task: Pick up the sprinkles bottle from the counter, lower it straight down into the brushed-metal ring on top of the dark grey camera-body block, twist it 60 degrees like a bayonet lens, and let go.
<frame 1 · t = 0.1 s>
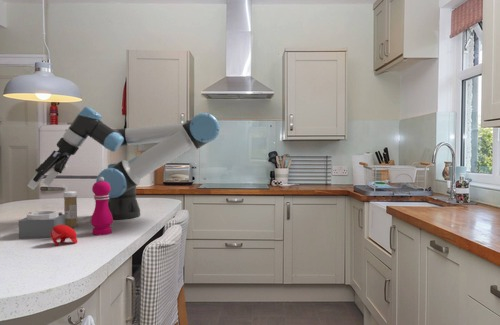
hand: (38, 186, 141), 15 cm above the kitchen island, tool tilted 35°, fingers open, 13 cm apart
sprinkles bottle: (71, 227, 138), on the kitchen island
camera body: (43, 234, 125), on the kitchen island
pepper mill: (102, 233, 127), on the kitchen island
red animal figurine: (64, 244, 113), on the kitchen island
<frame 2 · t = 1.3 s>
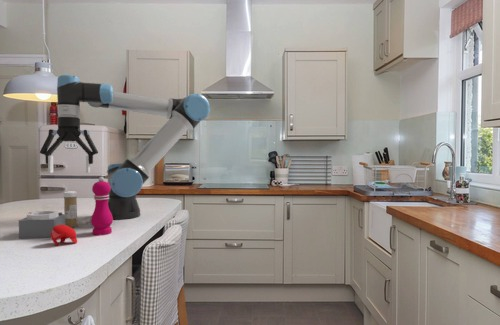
hand: (69, 172, 137), 21 cm above the kitchen island, tool pointing down, fingers open, 13 cm apart
nothing on the kitchen island moved.
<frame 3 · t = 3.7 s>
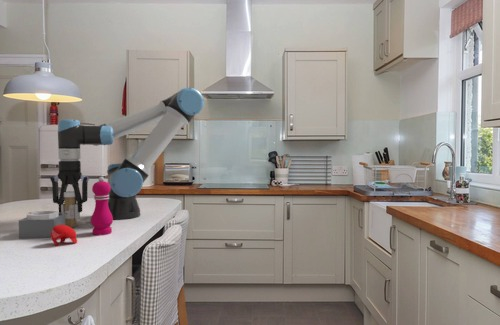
hand: (70, 220, 138), 2 cm above the kitchen island, tool pointing down, fingers closed on sprinkles bottle, 4 cm apart
sprinkles bottle: (71, 227, 138), on the kitchen island, touching gripper
everything else where it was.
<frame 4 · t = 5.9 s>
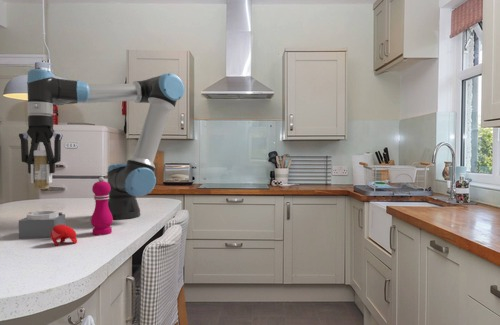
hand: (41, 182, 125), 18 cm above the kitchen island, tool pointing down, fingers closed on sprinkles bottle, 4 cm apart
sprinkles bottle: (42, 189, 125), point 16 cm above the kitchen island, touching gripper
everything else where it was.
when the fingers open (9 cm above the kitchen island, at t = 8.4 s): sprinkles bottle stays where it is, resting on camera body.
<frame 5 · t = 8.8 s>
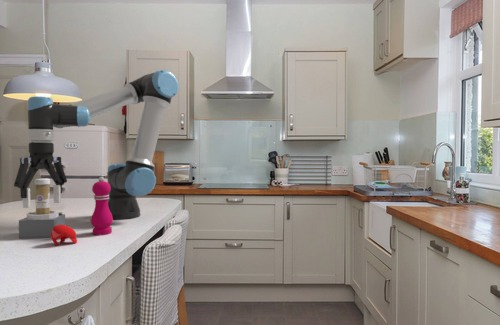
hand: (42, 205, 125), 10 cm above the kitchen island, tool pointing down, fingers open, 11 cm apart
sprinkles bottle: (43, 217, 125), point 6 cm above the kitchen island, touching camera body
everything else where it was.
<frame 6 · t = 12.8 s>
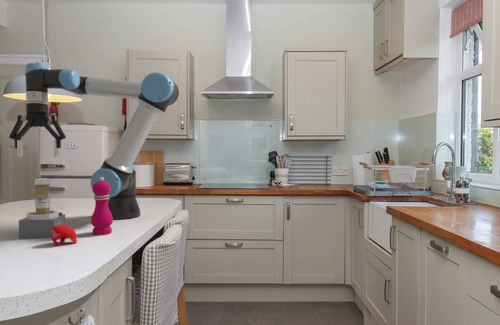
hand: (38, 156, 144), 27 cm above the kitchen island, tool pointing down, fingers open, 13 cm apart
nothing on the kitchen island moved.
at the end: sprinkles bottle 0.1 cm off-centre on the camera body, point 5.8 cm above the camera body's base; sprinkles bottle tilted 0°; the gripper is holding nothing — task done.
